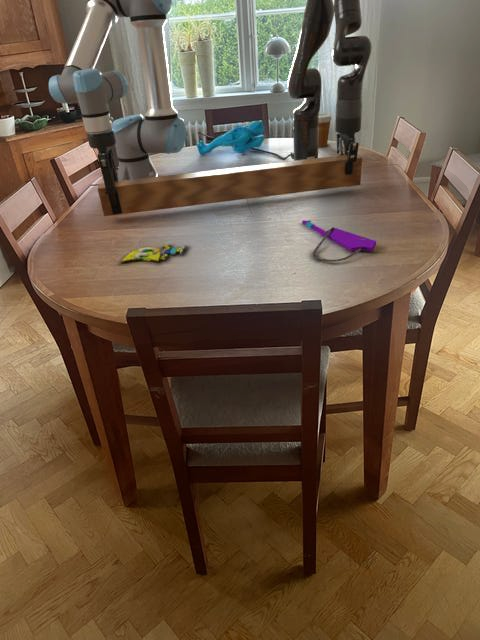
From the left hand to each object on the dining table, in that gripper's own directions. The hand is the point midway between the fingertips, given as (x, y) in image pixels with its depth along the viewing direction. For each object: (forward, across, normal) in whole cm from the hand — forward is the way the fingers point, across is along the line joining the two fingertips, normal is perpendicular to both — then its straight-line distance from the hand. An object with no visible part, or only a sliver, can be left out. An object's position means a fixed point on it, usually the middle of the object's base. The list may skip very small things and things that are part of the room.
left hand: (118, 209), depth 148 cm
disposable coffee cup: (+5, +63, -82) cm, 104 cm away
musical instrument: (+3, -37, -56) cm, 67 cm away
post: (+1, 0, -36) cm, 36 cm away
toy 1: (+3, -29, -11) cm, 31 cm away
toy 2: (+5, +68, -44) cm, 81 cm away
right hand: (-3, 0, -72) cm, 72 cm away
